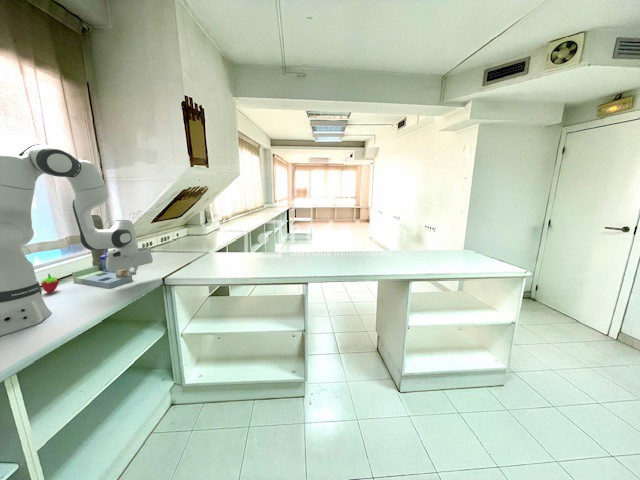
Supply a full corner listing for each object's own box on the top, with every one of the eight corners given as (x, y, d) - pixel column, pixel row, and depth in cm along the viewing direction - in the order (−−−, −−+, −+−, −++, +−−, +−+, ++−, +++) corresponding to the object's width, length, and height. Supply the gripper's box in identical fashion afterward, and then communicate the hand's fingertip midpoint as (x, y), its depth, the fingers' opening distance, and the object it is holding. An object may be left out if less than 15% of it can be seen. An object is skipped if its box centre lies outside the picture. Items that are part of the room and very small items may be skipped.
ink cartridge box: (108, 271, 157) (104, 249, 154) (119, 270, 160) (115, 248, 157) (103, 276, 148) (98, 252, 145) (114, 275, 151) (110, 251, 148)
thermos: (116, 267, 166) (106, 214, 159) (108, 272, 155) (97, 216, 148) (99, 268, 163) (88, 214, 156) (90, 274, 152) (78, 216, 145)
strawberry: (63, 288, 131) (59, 270, 129) (56, 294, 124) (51, 274, 122) (48, 290, 128) (44, 272, 126) (40, 296, 122) (35, 276, 120)
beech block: (121, 278, 136) (120, 271, 136) (116, 277, 138) (115, 270, 137) (129, 275, 140) (127, 269, 139) (123, 275, 141) (122, 268, 141)
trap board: (109, 288, 130) (107, 277, 129) (74, 282, 139) (71, 272, 138) (132, 280, 141) (130, 270, 140) (98, 275, 150) (96, 265, 149)
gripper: (148, 245, 143) (152, 268, 146) (102, 253, 127) (107, 279, 130) (152, 246, 140) (156, 270, 143) (106, 255, 124) (111, 282, 127)
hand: (132, 275), depth 136 cm, fingers closed
